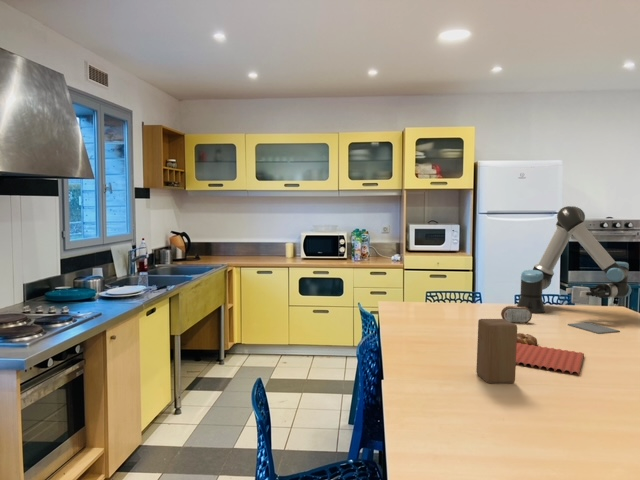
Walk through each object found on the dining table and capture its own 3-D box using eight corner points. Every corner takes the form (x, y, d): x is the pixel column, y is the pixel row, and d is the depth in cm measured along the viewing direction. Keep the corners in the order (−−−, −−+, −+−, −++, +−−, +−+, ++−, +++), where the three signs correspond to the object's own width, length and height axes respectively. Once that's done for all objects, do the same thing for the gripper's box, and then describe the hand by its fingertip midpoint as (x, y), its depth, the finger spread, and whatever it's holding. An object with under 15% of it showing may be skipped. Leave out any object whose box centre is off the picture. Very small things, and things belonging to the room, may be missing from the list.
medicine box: (587, 303, 254) (588, 287, 253) (588, 304, 250) (590, 288, 249) (570, 301, 257) (571, 285, 256) (572, 303, 252) (573, 287, 252)
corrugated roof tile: (578, 377, 168) (579, 372, 168) (496, 363, 183) (496, 358, 183) (583, 357, 192) (584, 352, 192) (510, 346, 207) (510, 341, 206)
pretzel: (531, 349, 202) (532, 340, 201) (506, 344, 209) (506, 335, 209) (541, 343, 210) (541, 335, 210) (516, 338, 218) (517, 330, 218)
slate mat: (567, 325, 245) (567, 323, 245) (588, 323, 249) (588, 322, 249) (598, 333, 228) (598, 332, 228) (619, 331, 233) (619, 330, 232)
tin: (530, 322, 250) (530, 306, 249) (532, 323, 247) (533, 307, 246) (500, 321, 251) (501, 305, 251) (502, 322, 248) (502, 306, 247)
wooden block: (475, 373, 169) (477, 318, 167) (502, 373, 170) (504, 318, 168) (487, 384, 159) (489, 325, 157) (516, 383, 160) (518, 325, 158)
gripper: (623, 301, 249) (590, 303, 242) (588, 294, 269) (557, 295, 261) (624, 287, 249) (591, 288, 241) (589, 281, 268) (558, 282, 261)
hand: (573, 292), depth 251 cm, fingers closed on medicine box, 8 cm apart
